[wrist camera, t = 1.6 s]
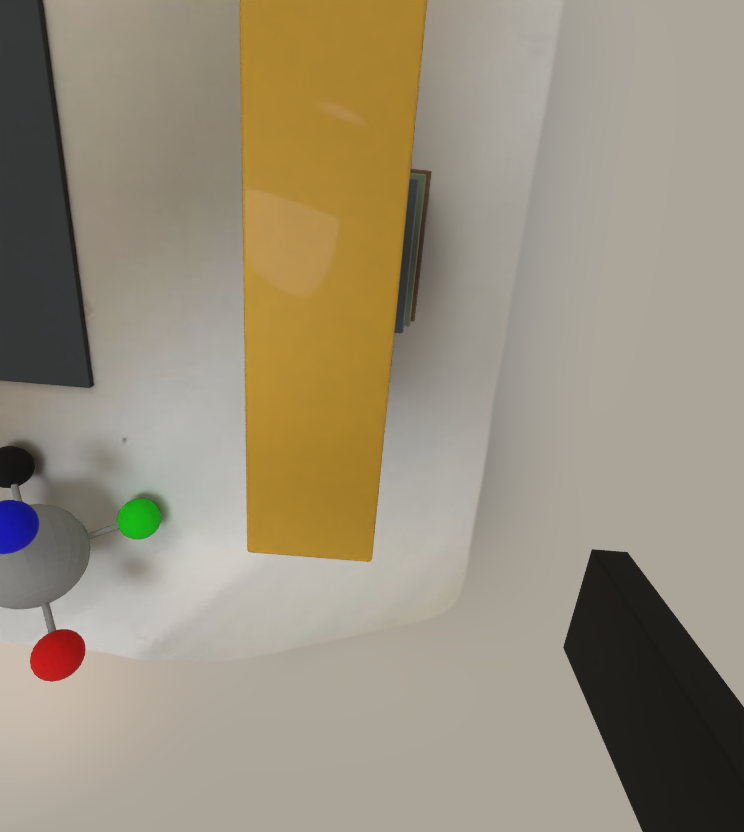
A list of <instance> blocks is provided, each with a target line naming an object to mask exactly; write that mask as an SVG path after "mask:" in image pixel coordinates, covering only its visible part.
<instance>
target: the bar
mask: <svg viewBox="0 0 744 832" xmlns="http://www.w3.org/2000/svg"><path fill="white" fill-rule="evenodd" d="M426 8H427V0H240V50H241V122H242V194H243V266H244V339H245V411H246V483H247V549H248V552H254V553H267V554H279V555H292V556H304V557H317V558H329V559H342V560H354V561H367V562H369V561H371V560H372V553H373V543H374V533H375V523H376V513H377V503H378V493H379V483H380V473H381V462H382V452H383V442H384V432H385V422H386V412H387V402H388V392H389V382H390V371H391V361H392V351H393V341H394V331H395V321H396V311H397V301H398V291H399V281H400V270H401V260H402V250H403V240H404V230H405V220H406V210H407V200H408V190H409V180H410V169H411V159H412V149H413V139H414V129H415V119H416V109H417V99H418V89H419V78H420V68H421V58H422V48H423V38H424V28H425V18H426Z"/></svg>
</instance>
